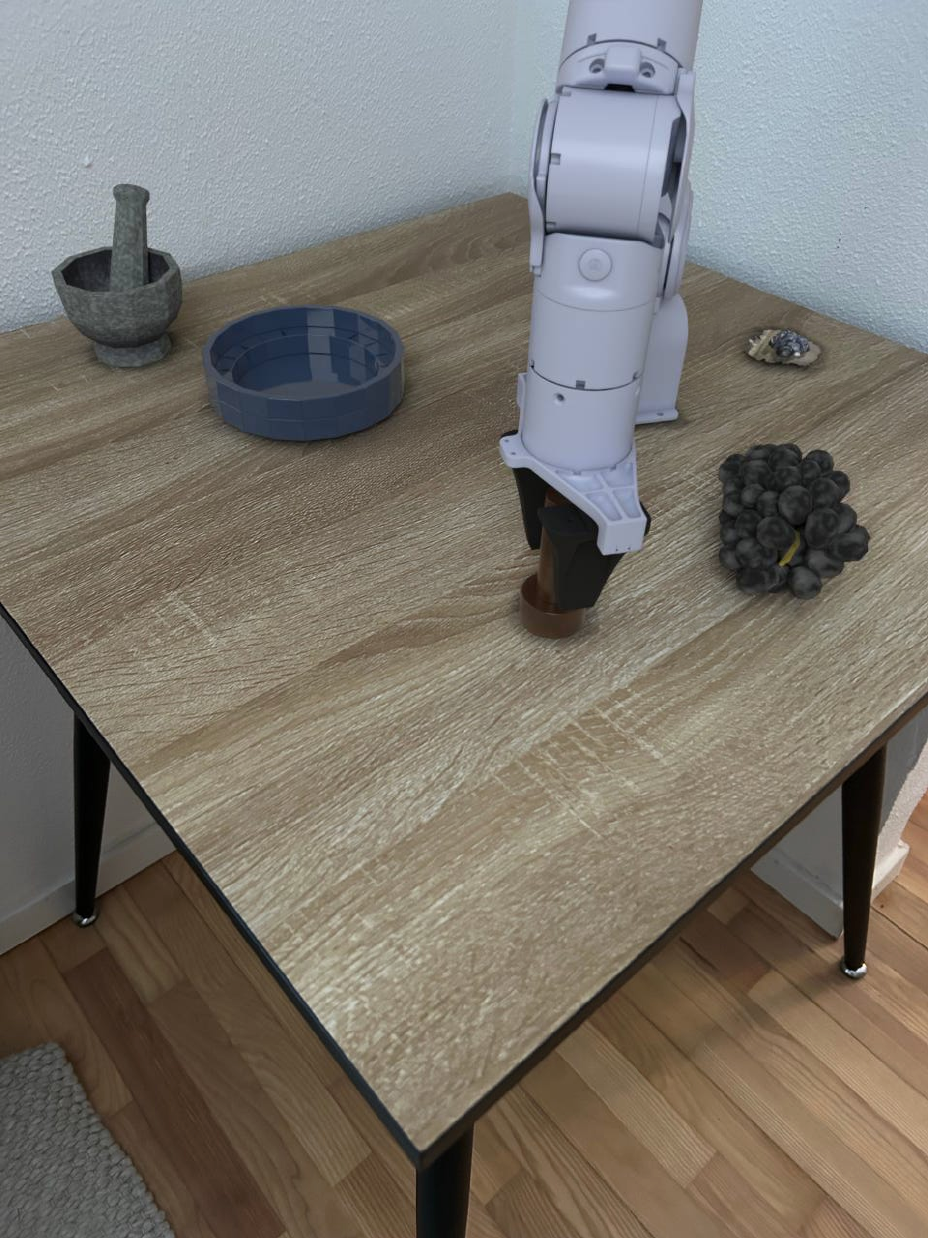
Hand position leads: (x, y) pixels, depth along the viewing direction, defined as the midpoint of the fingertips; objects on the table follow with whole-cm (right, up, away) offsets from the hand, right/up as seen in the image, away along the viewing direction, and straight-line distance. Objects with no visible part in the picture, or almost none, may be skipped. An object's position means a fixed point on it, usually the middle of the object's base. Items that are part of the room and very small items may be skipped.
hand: (560, 573), depth 57 cm
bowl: (-18, +15, +21) cm, 31 cm away
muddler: (0, -2, +2) cm, 3 cm away
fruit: (+15, +2, +8) cm, 17 cm away
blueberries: (+22, +21, +28) cm, 41 cm away
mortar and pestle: (-33, +20, +26) cm, 47 cm away
